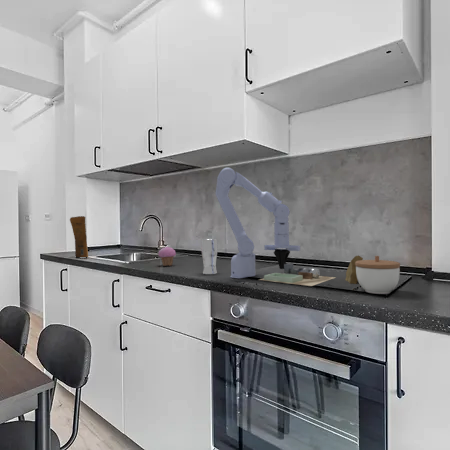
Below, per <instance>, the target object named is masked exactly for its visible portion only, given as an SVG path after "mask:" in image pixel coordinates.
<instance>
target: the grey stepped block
mask: <svg viewBox="0 0 450 450" xmlns="http://www.w3.org/2000/svg"><path fill="white" fill-rule="evenodd" d="M298 270H299V268H294V263H291V262H288V263H287V262H286V264H284V269H283V273H284V274H293V275H298Z"/></svg>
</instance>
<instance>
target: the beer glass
mask: <svg viewBox="0 0 450 450" xmlns="http://www.w3.org/2000/svg"><path fill="white" fill-rule="evenodd" d="M200 248H201V257H202V261H203V262H202V263H203V271H202V274H203V275H216V274H218V272H217V271H218V270H217V266H216V265H217V256H218V239H217V238H202V239H201V247H200Z"/></svg>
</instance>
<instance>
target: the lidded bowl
mask: <svg viewBox="0 0 450 450" xmlns="http://www.w3.org/2000/svg"><path fill="white" fill-rule="evenodd" d="M355 265H356V275H357V280H358V282H357V283H358V284H359V285H360V287H361V288H362V289H364V291H365V292H366V293H367V294H368V293H369V294H376V295H387V294H391V292H392V291H393V290H394V289H395V288H396V287H397V285H398V283H399V280H400V275H401V274H400V273H401V270H400V269H401V262H398V261H395V260H388V259H387V260H385V259H380V255H375V256H374V259H363V260H360V261H356V262H355Z"/></svg>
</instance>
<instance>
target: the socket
mask: <svg viewBox="0 0 450 450" xmlns="http://www.w3.org/2000/svg"><path fill="white" fill-rule="evenodd" d="M298 275H303V279H312V273H307V272H298Z"/></svg>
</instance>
